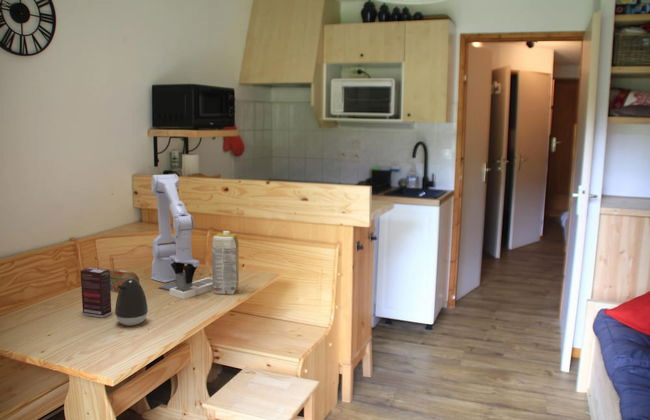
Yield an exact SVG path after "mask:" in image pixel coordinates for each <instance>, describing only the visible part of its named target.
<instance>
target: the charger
mask: <svg viewBox="0 0 650 420" xmlns="http://www.w3.org/2000/svg"><path fill="white" fill-rule="evenodd" d="M175 278H176V280H175V282H176V287H178V288H182V289H185V288H188V287H192V283H189V284H187V283H186V276H185V271H183V272H181V273H177V274H175Z"/></svg>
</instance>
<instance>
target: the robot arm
mask: <svg viewBox="0 0 650 420" xmlns="http://www.w3.org/2000/svg"><path fill="white" fill-rule="evenodd" d="M150 184H151V185H150V186H151V194H152V195H154V196H155V198H156V204H157V207H156V208H157V221H158V236H157V237H156V238H154V239H153V240H152V248H151V252H152V256H153V260H152V262H151V277H150V279H151V280H155V281H158V282H161V283H165V284H166V283H169V282H174V281H176V278H175V274H177V273H181V272H185V276H186V283H187V284H189V283H192V281H193V279H194V275H195V272H196V271H197V268H198V267H200V260H198V259H196V258H193V254H192V252H193V251H192V247H193V246H192V245H193V244H192V231H193V230H194V225H195V223H194V218H193V215H191V214H190V213H188V211H187V207H186V206H185V203H184V202H183V201H181V200H180V197H179V193H178V189H179V186H180V180H179V176H178V174H177V173H173V174H153V175H152V176H151V180H150ZM171 217H172V219H173V222H172V224H173V229H174V235H172V228H171V227H172V225H171Z"/></svg>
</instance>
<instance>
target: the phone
mask: <svg viewBox="0 0 650 420" xmlns="http://www.w3.org/2000/svg"><path fill="white" fill-rule="evenodd" d="M192 282H194V280H192ZM174 287H176V281H172V282H171V283H167V284H165V285H162V286H159V287H158V288H157V289H159V290H163V291H167V292H169V289H171V288H174Z"/></svg>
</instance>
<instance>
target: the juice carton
mask: <svg viewBox="0 0 650 420" xmlns="http://www.w3.org/2000/svg"><path fill="white" fill-rule="evenodd" d="M239 245H240V244H239V237H238V234H237V233H231V231H229V230H223V231H222V233H220V232H218V233H216V234H215V235H213V239H212V244H211V248H212V249H211V250H212V251H211V253H212V254H211V255H212V256H211V257H212V259H211V260H212V261H211V262H212V266H211V267H212V269H211V270H212V279H213V293H214V294H216V295H217V294H218V295H235V293H236V292H237V291H238V289H239V283H240V282H239V279H240V276H239V274H240V272H239V271H240V265H239V264H240V263H239V262H240V261H239V258H240V257H239V256H240V254H239V252H240V250H239V248H240V247H239Z"/></svg>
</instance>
